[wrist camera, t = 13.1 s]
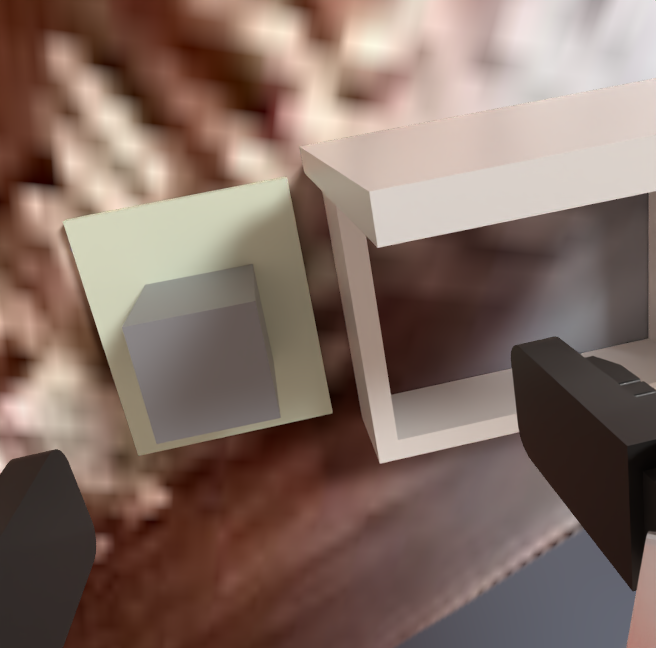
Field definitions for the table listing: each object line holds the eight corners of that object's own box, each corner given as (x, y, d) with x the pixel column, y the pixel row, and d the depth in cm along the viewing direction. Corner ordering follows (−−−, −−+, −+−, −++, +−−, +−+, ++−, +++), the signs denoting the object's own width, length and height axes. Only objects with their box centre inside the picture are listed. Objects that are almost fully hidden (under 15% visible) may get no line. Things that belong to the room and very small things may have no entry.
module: (252, 264, 29) (255, 301, 24) (273, 361, 31) (280, 418, 25) (145, 284, 29) (121, 327, 23) (172, 382, 30) (156, 444, 25)
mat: (286, 176, 29) (287, 177, 28) (331, 408, 33) (332, 413, 32) (66, 219, 28) (62, 221, 27) (140, 449, 32) (138, 455, 32)
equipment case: (689, 64, 29) (1335, 0, 12) (683, 347, 34) (1134, 591, 17) (290, 140, 28) (369, 191, 11) (343, 422, 33) (456, 768, 16)
